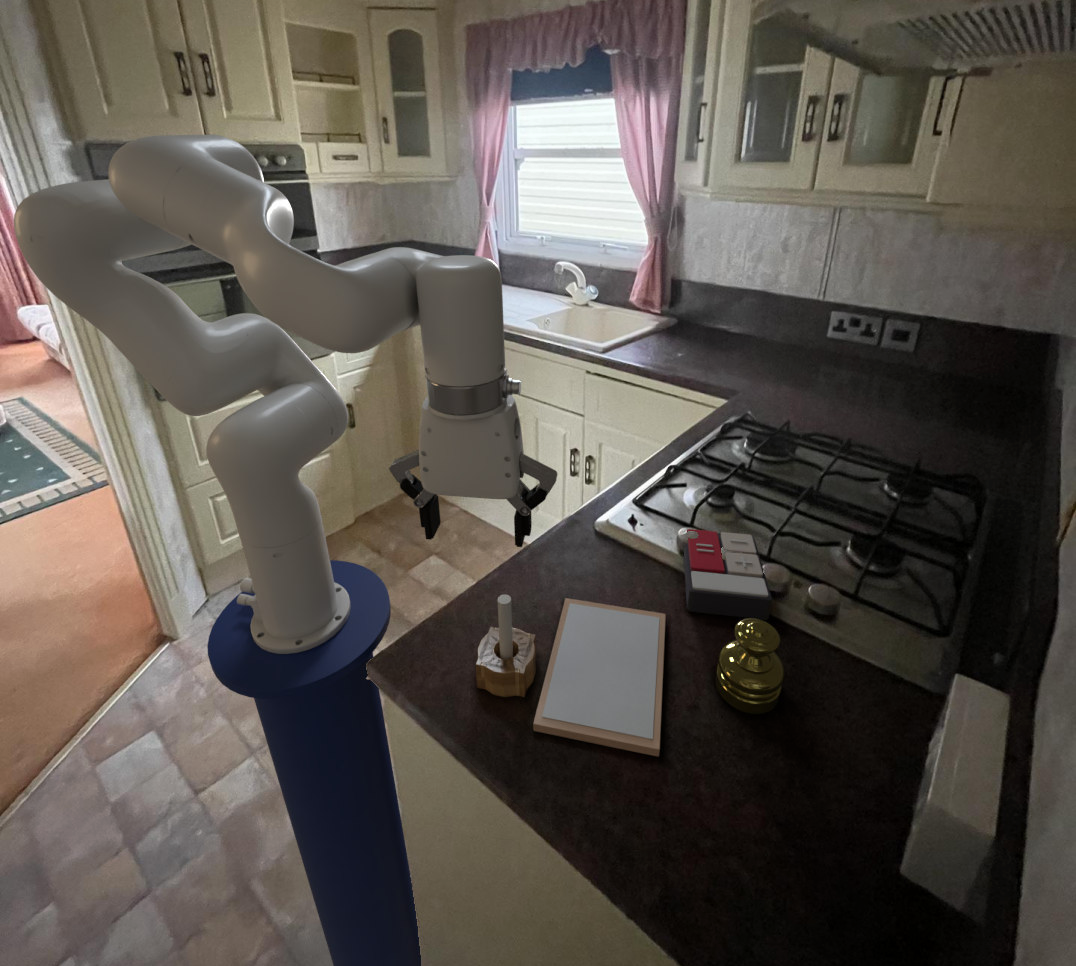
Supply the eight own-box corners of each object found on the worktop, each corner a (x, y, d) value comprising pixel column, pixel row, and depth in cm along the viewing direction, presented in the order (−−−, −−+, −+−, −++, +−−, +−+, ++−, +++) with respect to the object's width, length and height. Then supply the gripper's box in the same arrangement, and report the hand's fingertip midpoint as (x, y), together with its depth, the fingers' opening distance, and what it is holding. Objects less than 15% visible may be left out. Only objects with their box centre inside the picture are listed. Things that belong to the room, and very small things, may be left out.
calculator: (754, 531, 94) (773, 595, 80) (751, 554, 95) (769, 621, 82) (683, 525, 96) (690, 586, 82) (681, 547, 97) (687, 611, 83)
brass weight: (702, 673, 74) (712, 612, 70) (752, 657, 76) (764, 597, 72) (739, 724, 68) (751, 661, 64) (792, 705, 70) (808, 642, 66)
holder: (471, 690, 72) (469, 667, 71) (488, 645, 78) (487, 623, 77) (527, 701, 71) (527, 677, 69) (540, 655, 77) (540, 632, 75)
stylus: (499, 676, 74) (495, 602, 69) (502, 666, 75) (499, 593, 70) (511, 678, 74) (509, 605, 69) (515, 668, 75) (512, 595, 70)
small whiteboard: (533, 730, 67) (533, 723, 67) (565, 604, 85) (565, 597, 85) (658, 757, 65) (659, 748, 64) (664, 620, 82) (665, 613, 82)
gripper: (561, 378, 59) (560, 520, 66) (394, 371, 61) (411, 509, 68) (551, 411, 52) (552, 565, 59) (364, 401, 55) (386, 551, 62)
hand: (476, 535), depth 64 cm, fingers open, 9 cm apart
